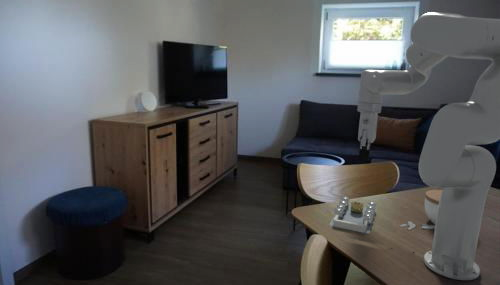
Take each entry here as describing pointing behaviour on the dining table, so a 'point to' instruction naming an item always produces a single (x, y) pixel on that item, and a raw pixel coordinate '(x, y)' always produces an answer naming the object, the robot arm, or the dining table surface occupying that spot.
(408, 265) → the dining table surface
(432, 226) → the pliers
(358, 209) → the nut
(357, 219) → the board
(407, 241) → the dining table surface
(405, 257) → the dining table surface
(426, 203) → the lidded bowl
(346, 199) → the spacers
